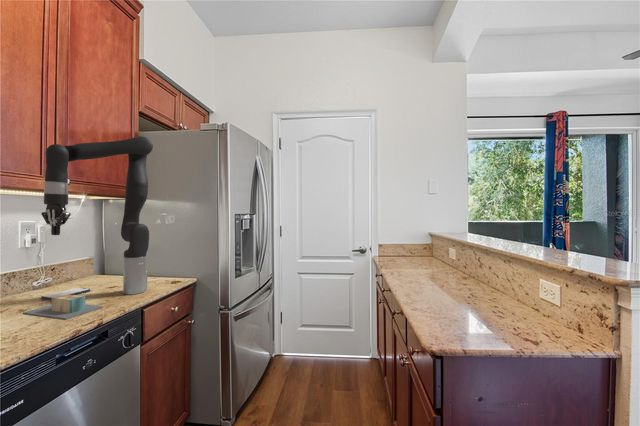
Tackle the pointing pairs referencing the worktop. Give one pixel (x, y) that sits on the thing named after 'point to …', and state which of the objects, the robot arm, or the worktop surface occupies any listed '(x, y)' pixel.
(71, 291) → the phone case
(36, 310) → the slate mat
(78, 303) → the maple block
